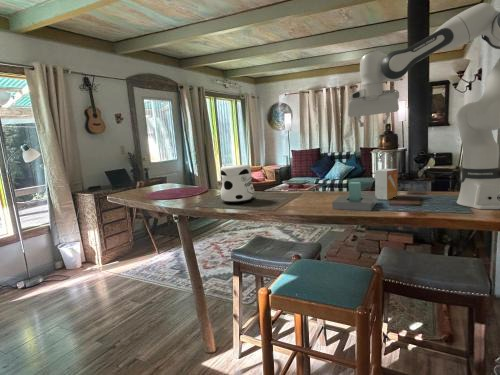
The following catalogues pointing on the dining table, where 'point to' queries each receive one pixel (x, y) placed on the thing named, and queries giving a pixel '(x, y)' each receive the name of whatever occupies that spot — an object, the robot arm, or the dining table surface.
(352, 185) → the peg
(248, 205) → the dining table surface
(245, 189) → the milk container
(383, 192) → the small box
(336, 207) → the socket
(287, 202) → the dining table surface
